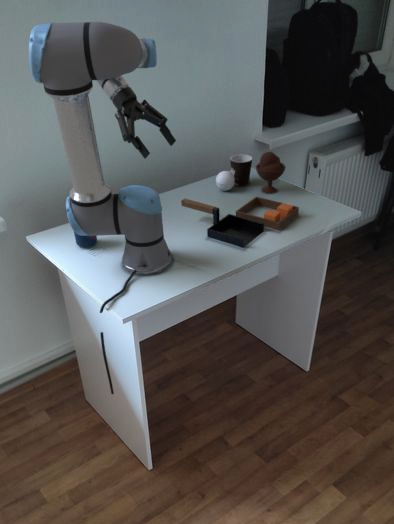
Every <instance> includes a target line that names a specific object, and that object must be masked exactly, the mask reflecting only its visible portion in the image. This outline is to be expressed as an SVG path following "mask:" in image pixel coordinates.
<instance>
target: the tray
mask: <svg viewBox="0 0 394 524" xmlns="http://www.w3.org/2000/svg"><path fill="white" fill-rule="evenodd" d="M282 203H283V202H280V201H276V200H272V199H268V198H264V197H260V196H255V197H253V198H252V199H251V200H249V201H248V202H246V203H245V204H244V205H243V206H240V207H239V208H238V209H237V210H235V216H239V217H242V218H246V219H250V220H253V221H257V222H260V223H264V228H268V229H271V230H275V231H278V232H280V230H282V229H283V228H285V226H286V225H288V224H289V223H290V222H291V221H292V220H294V219H296V217H297V216H299V211H300V207H299V206H296V205H293V211H292V212H291V213H289V214H288V215H287V216H286V217H284V218H283V219H280V222H277V221H273V220H269V219H265V218H264V217H261V216H257V215H255V214H250V213H247V212H248V211H250V210H251V209H253V208H254V207H255V206H259V207H264V208H268V209H270V210H275V211H277V207H278V206H280V205H281V204H282Z"/></svg>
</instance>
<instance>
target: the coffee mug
mask: <svg viewBox="0 0 394 524" xmlns="http://www.w3.org/2000/svg"><path fill="white" fill-rule="evenodd" d="M229 160H230V171H231V172H230V173H232V174H233V176H234V180H235V182H234V185H233V187H238V188H243V187H247V186H248V185H249V184H250V177H251V172H252V171H251V170H252V163H253V157H252V156H251V155H249V154H243V153H242V154H241V153H240V154H239V153H238V154H233V155H232V156H230V157H229Z"/></svg>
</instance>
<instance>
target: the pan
mask: <svg viewBox="0 0 394 524" xmlns="http://www.w3.org/2000/svg"><path fill="white" fill-rule="evenodd" d="M180 202H181V204H180V205H181V207H183V208H188V209H191V210H193V211H194V210H195V211H198V212H202V213H206V214H210V215H212V225H211V226H210V227H208V228H207V229H206V234H207V235H206V236H207V238H210V239H213V240H216V241H219V242H222V243H226V244H229V245H232V246H234V247H235V246H236V247H239V248H241V249H244V248H245V247H246V246H247V245H249V244H250V243H252V242H253V241H254V240H255V239H257V238H258V237H259V236H260V235H262V234H263V233H264V232H265V227H264V223H260V222H257V221H253V220H250V219H246V218H242V217H239V216H236V214H235V215H234V214H231V213H228V214H227V215H225V216H224V217H222V218H221V219H220V207H217V206H214V205H211V204H207V203H203V202H200V201H195V200H192V199H188V198H183V199H181V201H180Z"/></svg>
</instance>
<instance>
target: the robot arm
mask: <svg viewBox="0 0 394 524" xmlns="http://www.w3.org/2000/svg"><path fill="white" fill-rule="evenodd" d="M28 39H29V41H28V42H29V43H28V60H29V67H30V72H31V76H32V77H33V80H34V82H36V83H38V84H42V85H43V90H44V92H45V94H46V95H47V96H49V97H50V98H51V99H52V100H53V105H54V109H55V112H56V113H55V114H56V117H57V121H58V126H59V130H60V134H61V140H62V143H63V148H64V153H65V156H66V160H67V164H68V170H69V174H70V179H71V183H72V188H70V191H69V195H68V196H67V197H66V200H65V209H66V216H67V220H68V223H69V225H70V227H71V229H72V231H73V233H74V232H75V233H76V234H78V235H81V236H97V237H98V236H123V235H124V239H125V244H124V250H123V254H122V257H121V261H122V266H123V268H124V270H125V271H127V272H128V273H131V274H130V275H129V277H127V279H126V280H125V282H124V285H123V287H122V289H121V290H119V291H118V292H117V293H115V294H113V295H112V296H110V298H108V299H106V300H105V301H103V303H102V304H101V307H100V310H99V314H102V313H103V312H104V309H105V307H106V305H108V304H109V303H110V302H112V301H113V300H115V299H116V298H118V297H119V296H121V295H122V294H123V293H124V292H125V291H126V289H127V287H128V284H129V283H130V281H131V280H132V278H133V277H134V276H135V275H138V276H152V275H156V274H159V273H162V272H164V271H165V270H167V269H168V268H170V266H171V264H172V261H173V259H172V258H173V257H172V251H171V249H170V248H169V246H168V244H167V242H166V239H165V234H164V225H163V222H164V221H163V213H162V212H163V206H162V202H161V197H160V194H159V193H158V192H157V190H155V189H153V188H152V187H148V186H146V185H140V184H139V185H138V184H132V185H128V186H123V187H121V188H120V189H119V191H118V193H112V188H111V186H110V185H109V184H108V183H106V182H105V180H104V174H103V169H102V163H101V157H100V151H99V147H98V142H97V136H96V129H95V124H94V120H93V113H92V108H91V107H92V106H91V103H90V97H89V94H90V92H92V89H93V88H94V84H93V81H96V83H98V85H99V86H100V87H101V89H102V90H103V92H104V93H105V95H106V96H107V97H108V99H109V100H110V101H111V102H112V104H113V106H114V107H115V108H116V112H115V113H114V117H115V119H116V120H117V123H118V126H119V130H120V133H121V137H122V141H123V142H127V143H128V144H130V143H131V144H132V145H133V147H134V149H136V150H137V151H138V152H139V153H140V155H141V156H142V157H143V159H144V160H145V159H147V158H148V156H150V154H151V152H150V150H149V149H148V148H147V147H146V145H145V144H144V142H143V141H142V140H141V138H140V137H139V136H138V135H136V130H135V129H136V127H135V122H136V121H139V120H142V121H144V120H145V122H148V123H149V124H152V125H153V126H156V127H157V128H159V129H158V131H159V132H160V134H161V135H162V136H163V137H164V139H165V140H166V142H167V143H168V145H169V146H170V147H172V146H173V145H174V144H175V143H176V142H177V139H176V138H175V136H174V135H173V134H172V132H171V129H170V128H169V127H168V126H167V122H168V120H169V119H168V118H167V117H166V116H165V115H164V114H162V113H161V112H160V111H158V110H157V109H156V108H155V107H153V106H152V104H151V105H150V103H149V102H148V101H147V99H143V100H142V101H141V102H140V101H138V98H137V97H138V96H137V95H136V93H135V92H134V90H133V89H132V87H131V86H130V85H129V83H128V82H127V81H126V79H125V77H124V75H127V74H130V73H132V72H134V71H135V70H137V69H150V68H155V67H156V66H157V64H158V63H157V62H158V58H157V56H158V55H157V45H156V41H155V40H154V39H153V38H145V37H144V38H139V37H138V35H136V34H135V33H134V32H133V31H132V30H129V28H125V27H123V26H119V25H117V24H113V23H109V22H103V21H86V22H50V23H42V24H37V25H35V26H34V27H33V28H32V29H31V31H30V34H29V38H28ZM99 335H100V343H101V351H102V357H103V361H104V365H105V366H104V367H105V370H106V374H107V379H108V383H109V390H110V394H111V395H114V393H115V392H114V387H113V382H112V378H111V377H112V376H111V372H110V367H109V363H108V358H107V353H106V346H105V338H104V337H105V336H104V332H103V331H101V332H100V334H99Z"/></svg>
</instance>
